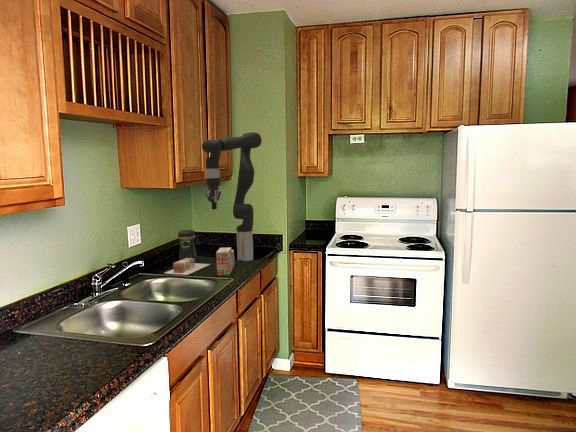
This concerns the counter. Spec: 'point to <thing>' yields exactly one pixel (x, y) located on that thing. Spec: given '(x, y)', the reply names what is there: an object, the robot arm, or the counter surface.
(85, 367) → the counter surface
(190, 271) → the grey mat
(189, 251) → the coffee jar
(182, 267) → the birch block
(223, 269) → the printed cardboard box
